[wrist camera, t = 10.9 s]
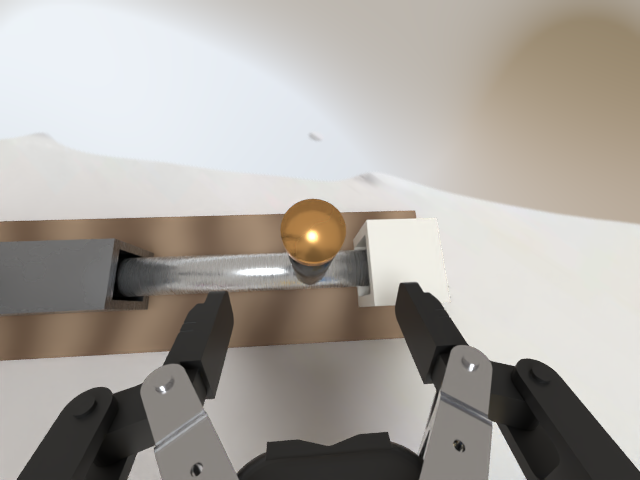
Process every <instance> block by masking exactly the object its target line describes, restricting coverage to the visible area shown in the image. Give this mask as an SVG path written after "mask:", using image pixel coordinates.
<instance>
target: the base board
mask: <svg viewBox="0 0 640 480" xmlns="http://www.w3.org/2000/svg"><path fill="white" fill-rule="evenodd" d="M284 215H285V214H268V215H230V216H192V217H154V218H116V219H79V220H41V221H3V222H0V242H14V241H46V240H79V239H111V238H115V239H118V240H120V241H123V242H126V243H128V244H131V245H134V246H136V247H139V248H142V249H144V250H147V251H149V252H152V253H154V257H169V256H198V255H226V254H254V253H283V252H287V251H286V249H285V247H284V244H283V241H282V238H281V232H280V228H281V222H282V219H283V217H284ZM341 215H342V216H343V219H344V221H345V225H346V237H345V240H344V243H343V245H342V247H341V249H340V250H354V243H353V239H354V238H355V236H356V235H357V233H358V232H359V230H360V229H361V228H362V226H363V225H364V223H365V222H366V220H380V219H415V218H416V213H415V211H381V212H344V213H341ZM340 250H339V251H340ZM228 293H229V297H230V302H231V306H232V311H233V315H234V325H233V330H232V334H231V338H230V342H229V345H228V348H233V347H251V346H268V345H286V344H304V343H321V342H339V341H357V340H375V339H392V338H404V336H403V333H402V331H401V329H400V326H399V324H398V322H397V319H396V315H395V305H392V306H371V307H359V304H358V292H357V287H336V288H313V289H291V290H268V291H245V292H228ZM207 295H208V293H199V294H177V295H154V296H149V303H148V310H129V311H108V312H86V313H65V314H44V315H22V316H1V317H0V361H3V360H21V359H38V358H56V357H74V356H91V355H109V354H127V353H144V352H162V351H170V350H171V348H172V346H173V344H174V342H175V339H176V337H177V335H178V333H180V329H181V327H182V325H183V324H184V321H185V318H186V316H187V314H188V312H189V311H190V310H191V309H192V308H193V307H194V306H195V305H196V304H198V303H204V302H205V300H206V298H207Z"/></svg>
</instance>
